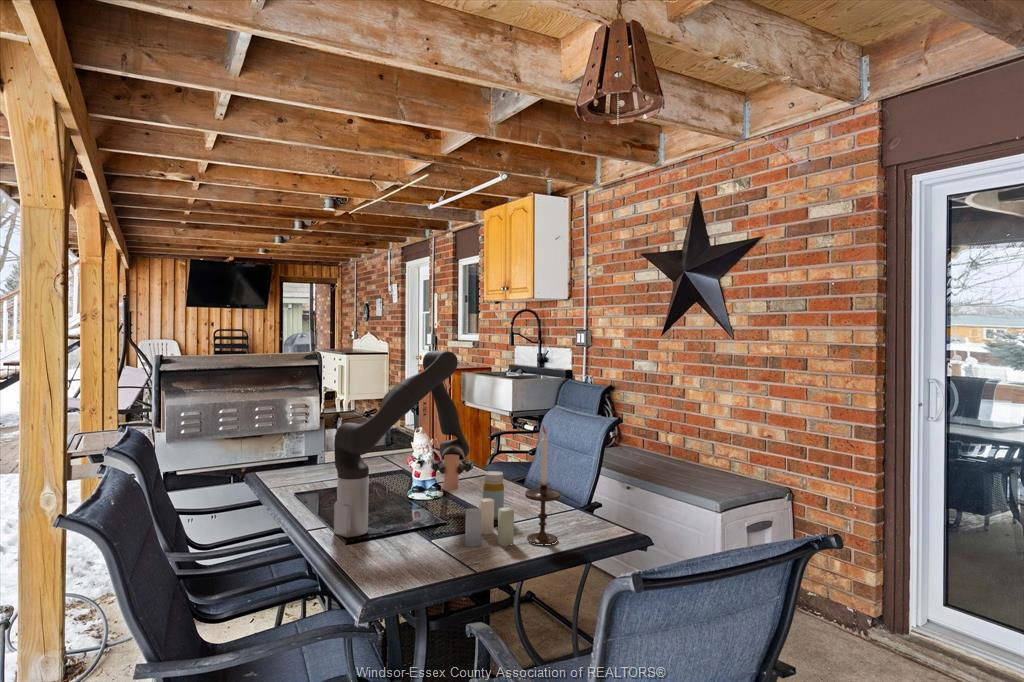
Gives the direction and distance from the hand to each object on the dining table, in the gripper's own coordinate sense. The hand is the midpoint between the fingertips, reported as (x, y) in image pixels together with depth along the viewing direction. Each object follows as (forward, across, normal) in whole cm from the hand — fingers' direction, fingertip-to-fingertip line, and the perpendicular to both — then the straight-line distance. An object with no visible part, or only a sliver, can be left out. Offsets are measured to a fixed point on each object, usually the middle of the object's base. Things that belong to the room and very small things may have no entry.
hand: (451, 470), depth 187 cm
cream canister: (-3, +11, +20) cm, 23 cm away
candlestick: (+5, +28, +20) cm, 34 cm away
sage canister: (+7, +17, +20) cm, 27 cm away
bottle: (-17, +14, +20) cm, 30 cm away
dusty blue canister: (+8, +7, +20) cm, 22 cm away
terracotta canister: (-3, 0, +6) cm, 7 cm away
